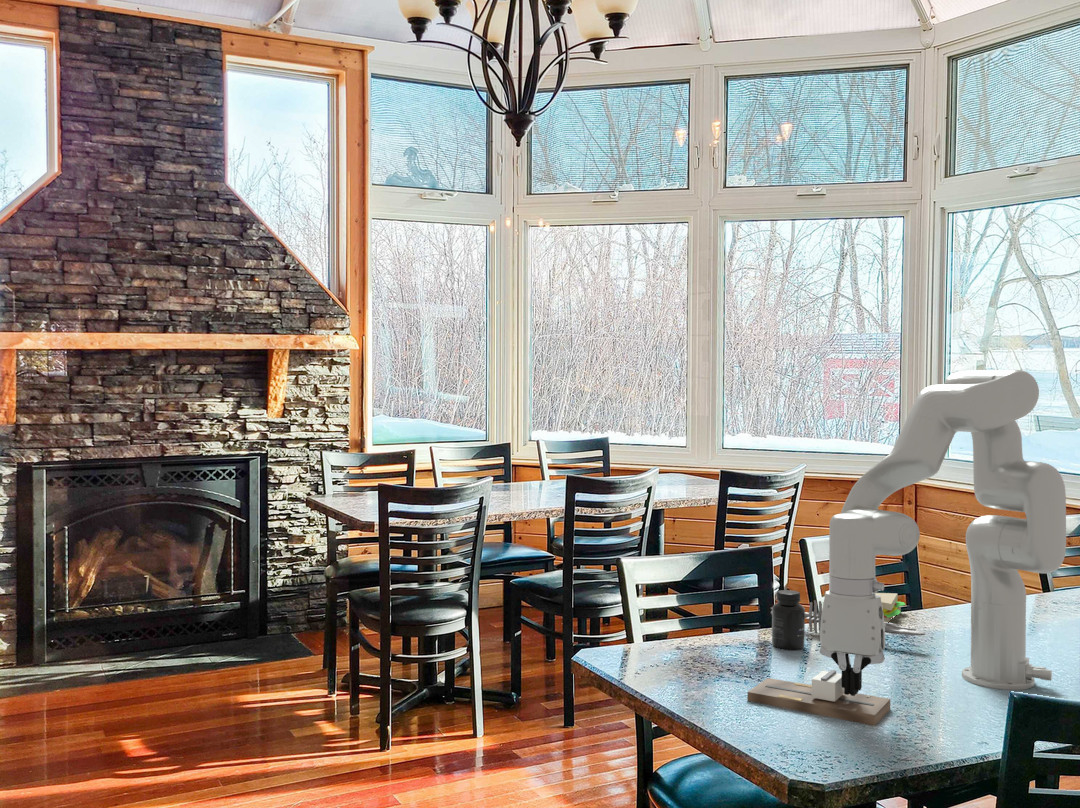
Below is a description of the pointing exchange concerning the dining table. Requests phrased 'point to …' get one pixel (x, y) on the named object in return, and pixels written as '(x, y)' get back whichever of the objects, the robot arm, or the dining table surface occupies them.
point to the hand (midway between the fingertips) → (851, 692)
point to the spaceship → (888, 626)
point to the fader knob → (827, 686)
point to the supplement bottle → (788, 621)
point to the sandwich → (889, 605)
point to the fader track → (819, 702)
